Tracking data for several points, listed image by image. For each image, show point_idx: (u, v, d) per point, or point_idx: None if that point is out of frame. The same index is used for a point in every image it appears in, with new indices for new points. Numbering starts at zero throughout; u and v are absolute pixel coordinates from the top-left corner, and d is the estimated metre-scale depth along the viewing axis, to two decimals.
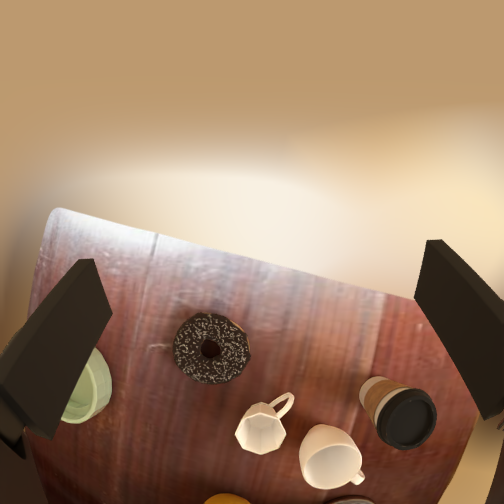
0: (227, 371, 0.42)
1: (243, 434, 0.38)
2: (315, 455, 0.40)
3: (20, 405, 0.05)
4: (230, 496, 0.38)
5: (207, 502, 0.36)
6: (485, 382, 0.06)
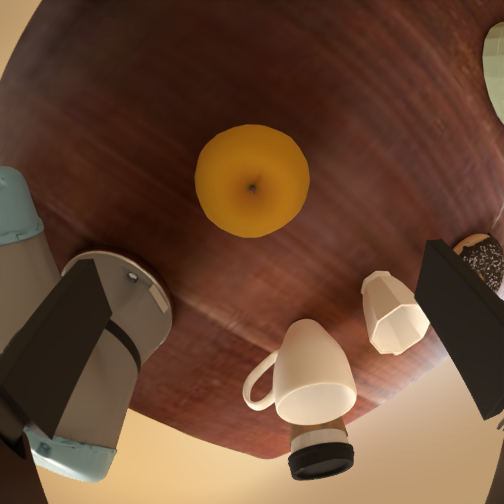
0: None
1: None
2: None
3: (20, 405, 0.05)
4: None
5: None
6: (485, 382, 0.06)
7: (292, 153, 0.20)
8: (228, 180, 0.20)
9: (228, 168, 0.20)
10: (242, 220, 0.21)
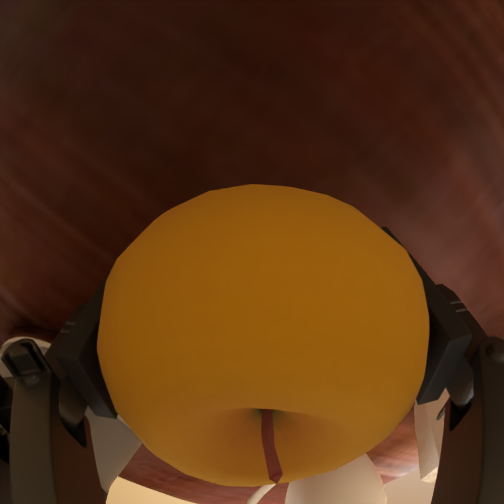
0: None
1: None
2: None
3: (91, 381, 0.07)
4: None
5: None
6: None
7: (418, 331, 0.05)
8: (188, 427, 0.05)
9: (182, 405, 0.05)
10: (237, 482, 0.06)
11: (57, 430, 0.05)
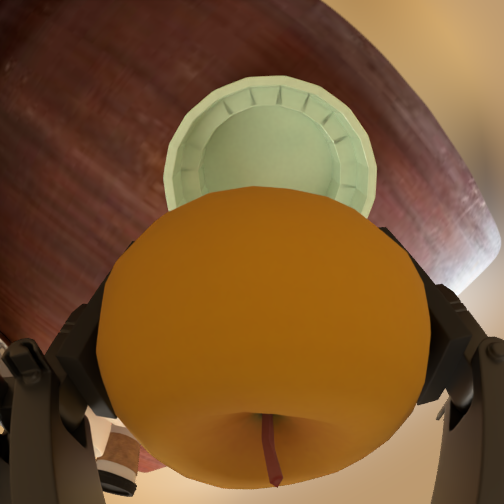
0: None
1: None
2: None
3: (92, 381, 0.07)
4: None
5: None
6: None
7: (420, 335, 0.05)
8: (188, 430, 0.05)
9: (182, 410, 0.05)
10: (237, 485, 0.06)
11: (57, 430, 0.05)
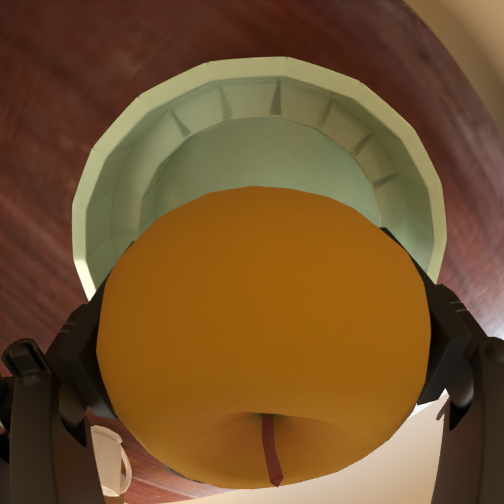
0: (172, 469, 0.26)
1: None
2: None
3: (92, 381, 0.07)
4: None
5: None
6: None
7: (420, 334, 0.05)
8: (188, 430, 0.05)
9: (183, 410, 0.05)
10: (237, 485, 0.06)
11: (57, 430, 0.05)
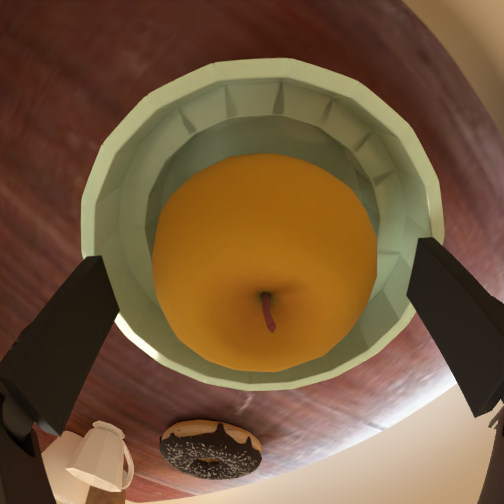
0: (175, 465, 0.27)
1: None
2: None
3: (30, 401, 0.06)
4: None
5: None
6: (475, 379, 0.06)
7: (358, 231, 0.09)
8: (215, 293, 0.09)
9: (214, 269, 0.09)
10: (244, 362, 0.10)
11: (2, 439, 0.04)
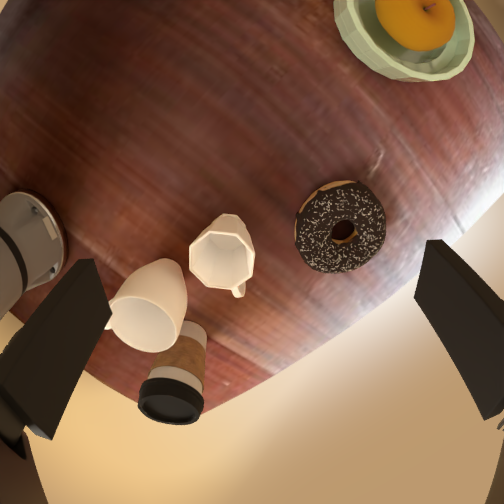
0: (310, 241, 0.34)
1: None
2: None
3: (20, 405, 0.05)
4: None
5: None
6: (485, 382, 0.06)
7: None
8: None
9: None
10: (425, 21, 0.18)
11: None
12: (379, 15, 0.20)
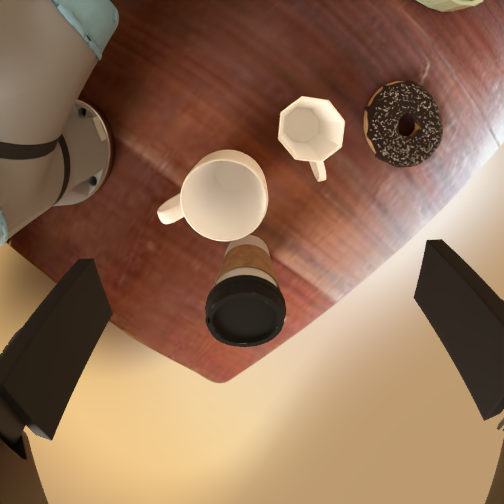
0: (383, 129, 0.31)
1: (311, 103, 0.28)
2: (213, 162, 0.34)
3: (20, 405, 0.05)
4: None
5: None
6: (484, 382, 0.06)
7: None
8: None
9: None
10: None
11: None
12: None
